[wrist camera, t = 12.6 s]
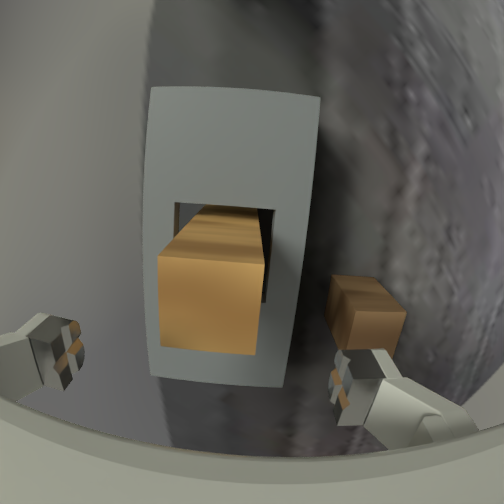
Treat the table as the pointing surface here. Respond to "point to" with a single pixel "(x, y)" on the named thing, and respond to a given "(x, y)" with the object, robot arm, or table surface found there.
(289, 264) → the hole bridge
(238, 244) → the tall pin
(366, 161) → the table surface
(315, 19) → the table surface
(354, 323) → the short pin
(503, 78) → the table surface
